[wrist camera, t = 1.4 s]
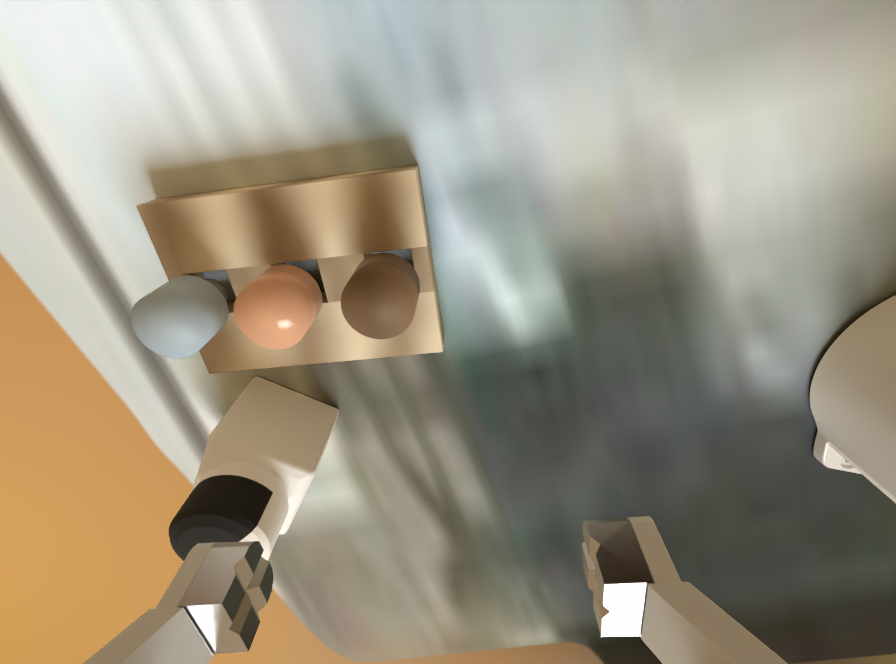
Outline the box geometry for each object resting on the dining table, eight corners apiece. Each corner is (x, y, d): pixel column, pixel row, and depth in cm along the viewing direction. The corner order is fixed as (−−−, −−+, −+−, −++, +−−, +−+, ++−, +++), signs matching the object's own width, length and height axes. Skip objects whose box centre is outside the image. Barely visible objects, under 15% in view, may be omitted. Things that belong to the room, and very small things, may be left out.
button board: (418, 164, 28) (415, 169, 26) (444, 337, 33) (442, 351, 31) (156, 199, 29) (136, 205, 27) (222, 359, 35) (209, 373, 33)
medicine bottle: (232, 436, 38) (142, 568, 28) (254, 373, 35) (163, 494, 24) (313, 466, 39) (256, 604, 29) (341, 408, 36) (290, 537, 26)
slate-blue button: (230, 260, 29) (187, 291, 24) (250, 317, 31) (214, 355, 26) (170, 267, 29) (118, 299, 25) (194, 323, 31) (149, 361, 26)
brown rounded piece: (417, 239, 28) (408, 267, 23) (427, 299, 30) (420, 335, 25) (353, 246, 28) (332, 275, 24) (367, 305, 30) (349, 342, 25)
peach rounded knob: (322, 250, 28) (295, 279, 24) (337, 308, 30) (315, 345, 26) (260, 257, 29) (222, 287, 24) (279, 314, 30) (247, 352, 26)
